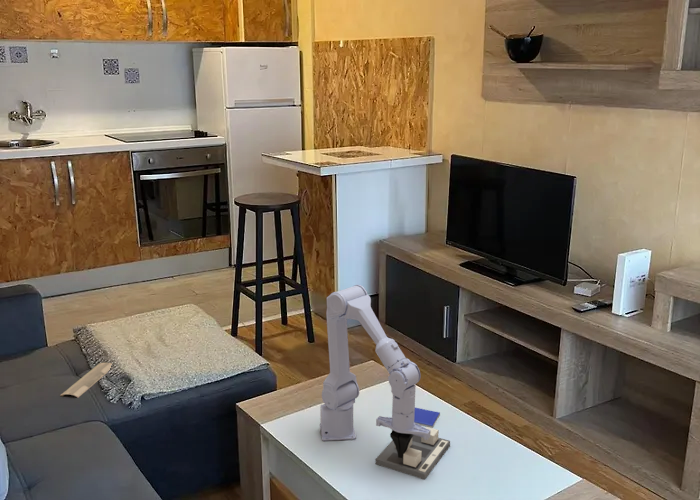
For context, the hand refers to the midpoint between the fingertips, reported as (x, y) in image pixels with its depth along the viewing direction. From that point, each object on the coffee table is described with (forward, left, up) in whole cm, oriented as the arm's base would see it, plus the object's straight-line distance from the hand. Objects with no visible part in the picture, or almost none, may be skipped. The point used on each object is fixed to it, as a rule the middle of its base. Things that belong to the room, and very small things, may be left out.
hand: (402, 455), depth 178 cm
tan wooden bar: (-93, +58, -4) cm, 110 cm away
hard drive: (+9, +24, -3) cm, 26 cm away
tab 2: (+2, -2, -1) cm, 3 cm away
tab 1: (+2, +6, -1) cm, 6 cm away
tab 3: (+9, +8, -1) cm, 12 cm away
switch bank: (+4, +5, -3) cm, 7 cm away
